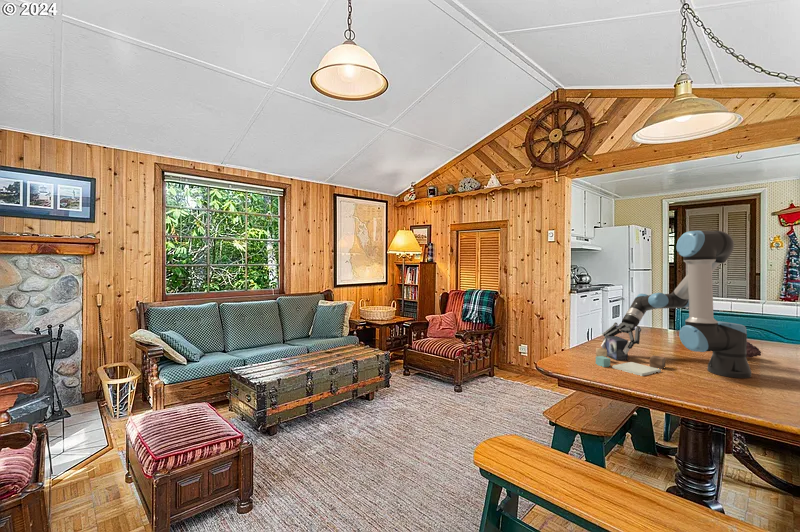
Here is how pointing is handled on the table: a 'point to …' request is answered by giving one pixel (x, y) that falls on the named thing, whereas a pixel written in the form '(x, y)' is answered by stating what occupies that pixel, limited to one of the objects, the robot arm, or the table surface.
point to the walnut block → (657, 362)
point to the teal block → (603, 361)
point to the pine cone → (752, 350)
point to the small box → (616, 347)
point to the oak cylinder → (601, 352)
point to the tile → (636, 368)
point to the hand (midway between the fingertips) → (613, 349)
